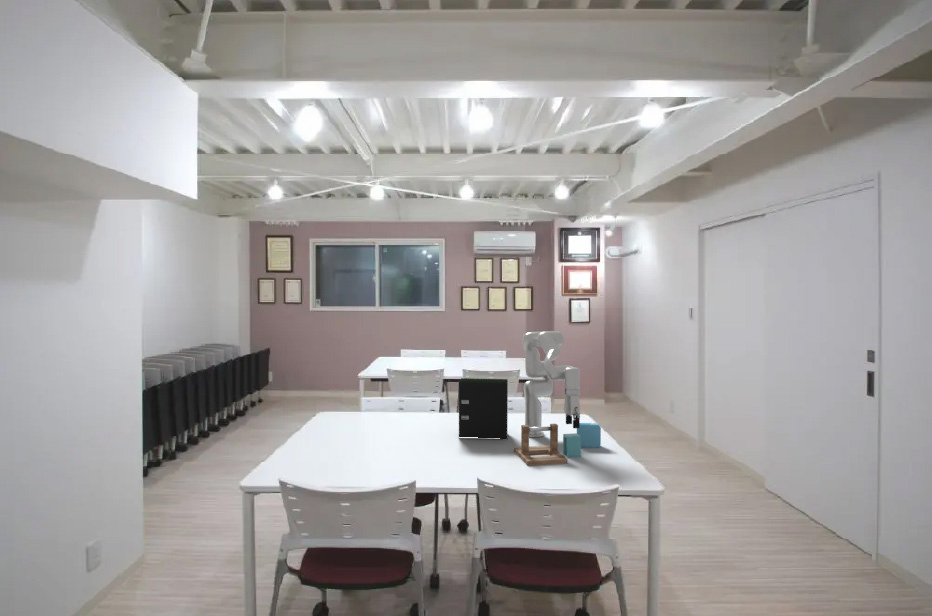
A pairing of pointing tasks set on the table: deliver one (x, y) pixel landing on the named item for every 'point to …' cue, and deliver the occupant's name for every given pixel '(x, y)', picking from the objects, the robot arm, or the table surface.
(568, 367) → the robot arm
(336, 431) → the table surface
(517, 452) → the hook stand
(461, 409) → the binder
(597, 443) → the data package
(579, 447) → the teal rectangular block
